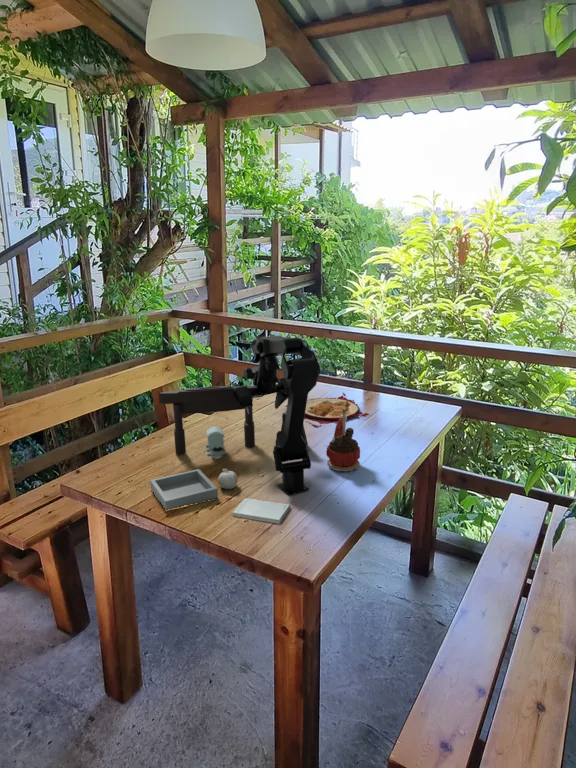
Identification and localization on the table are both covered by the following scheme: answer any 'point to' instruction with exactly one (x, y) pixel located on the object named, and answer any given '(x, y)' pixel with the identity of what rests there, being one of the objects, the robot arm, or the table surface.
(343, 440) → the cake
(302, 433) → the phone stand
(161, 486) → the tray
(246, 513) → the hard drive
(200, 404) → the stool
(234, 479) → the garlic
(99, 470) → the table surface
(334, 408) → the plate with food
